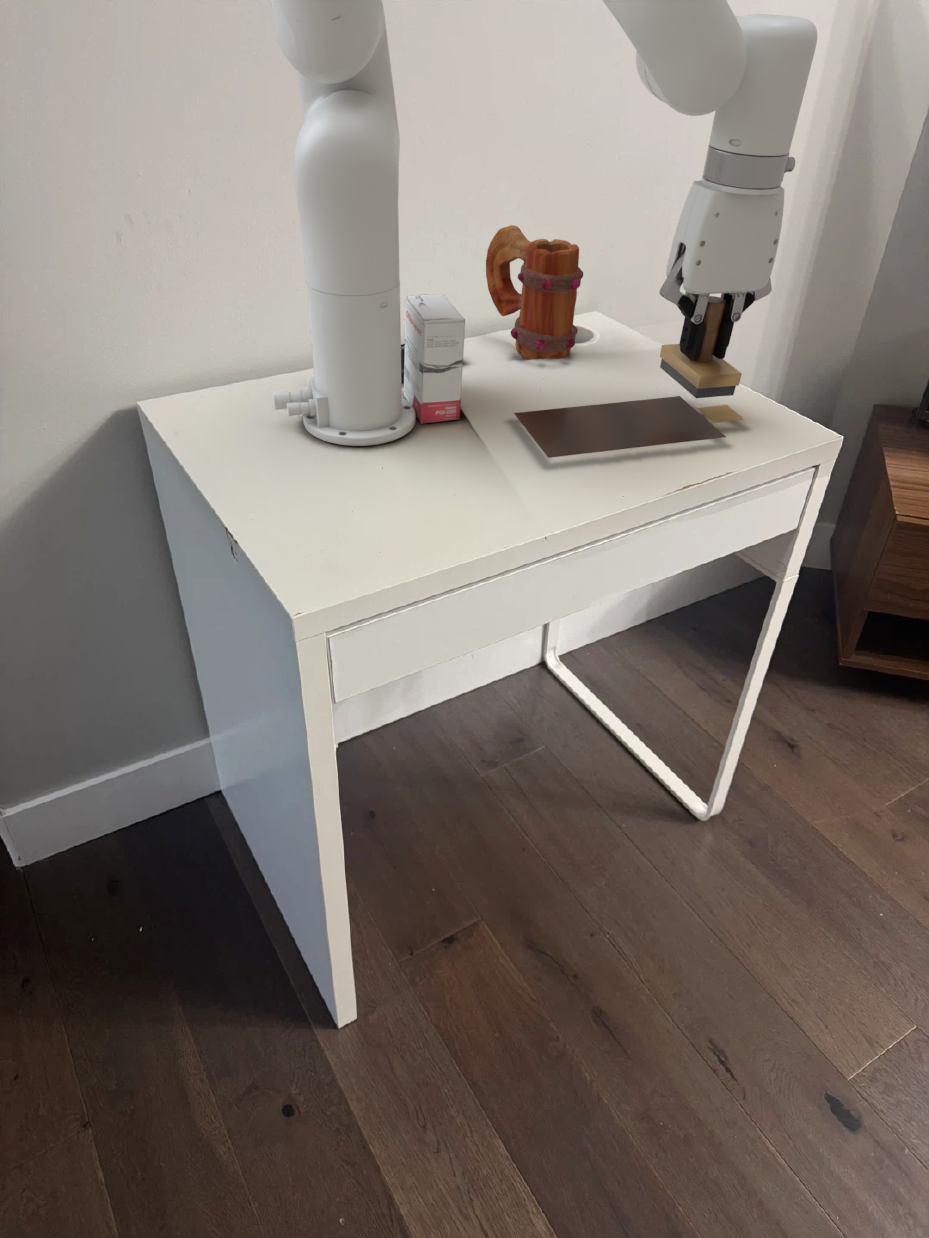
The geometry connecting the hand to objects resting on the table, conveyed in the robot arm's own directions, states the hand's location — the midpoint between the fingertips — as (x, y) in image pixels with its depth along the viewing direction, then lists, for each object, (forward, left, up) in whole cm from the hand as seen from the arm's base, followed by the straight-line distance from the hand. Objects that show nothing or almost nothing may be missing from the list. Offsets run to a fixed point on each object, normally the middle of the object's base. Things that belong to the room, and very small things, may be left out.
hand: (701, 353), depth 96 cm
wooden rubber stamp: (0, 0, -3) cm, 3 cm away
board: (-9, 0, -9) cm, 12 cm away
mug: (-10, +25, -9) cm, 29 cm away
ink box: (-27, +11, -9) cm, 31 cm away
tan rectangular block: (+4, 0, -9) cm, 9 cm away
